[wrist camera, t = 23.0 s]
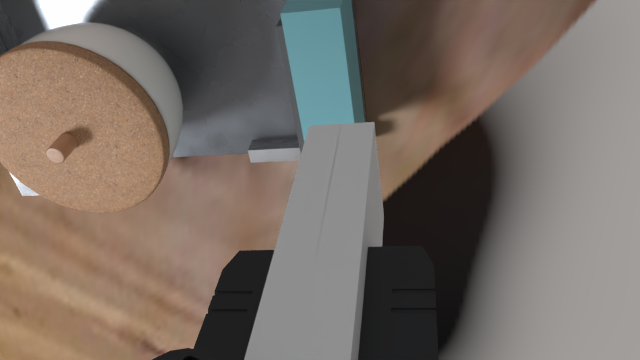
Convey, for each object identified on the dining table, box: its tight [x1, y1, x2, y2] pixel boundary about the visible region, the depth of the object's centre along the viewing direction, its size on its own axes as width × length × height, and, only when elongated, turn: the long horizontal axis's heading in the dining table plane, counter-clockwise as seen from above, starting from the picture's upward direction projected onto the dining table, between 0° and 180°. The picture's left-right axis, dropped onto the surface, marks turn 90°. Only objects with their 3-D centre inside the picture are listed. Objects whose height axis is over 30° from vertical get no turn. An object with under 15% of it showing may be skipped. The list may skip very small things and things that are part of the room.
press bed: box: [0, 0, 367, 196], centre depth 36 cm, size 24×13×5 cm, turn 98°
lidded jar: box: [0, 22, 183, 213], centre depth 34 cm, size 11×11×9 cm
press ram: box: [276, 0, 365, 153], centre depth 33 cm, size 4×10×5 cm, turn 8°
